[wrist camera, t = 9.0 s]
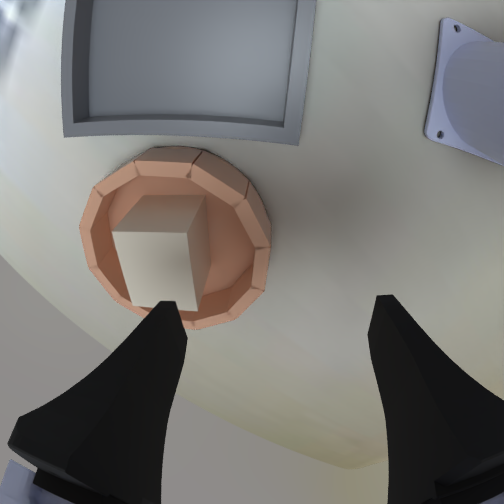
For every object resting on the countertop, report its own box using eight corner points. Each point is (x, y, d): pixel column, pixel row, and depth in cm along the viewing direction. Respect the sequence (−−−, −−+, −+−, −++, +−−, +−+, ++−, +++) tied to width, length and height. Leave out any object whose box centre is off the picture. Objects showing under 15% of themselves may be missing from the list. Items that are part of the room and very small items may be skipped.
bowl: (280, 154, 17) (281, 171, 14) (259, 306, 23) (257, 337, 21) (94, 145, 17) (68, 160, 14) (116, 287, 23) (101, 313, 21)
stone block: (205, 194, 18) (186, 232, 14) (211, 264, 21) (197, 311, 17) (143, 195, 18) (111, 231, 14) (155, 261, 21) (132, 305, 17)
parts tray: (316, -56, 10) (322, -71, 8) (295, 135, 16) (298, 145, 14) (94, -42, 10) (74, -51, 8) (84, 127, 16) (63, 137, 14)
